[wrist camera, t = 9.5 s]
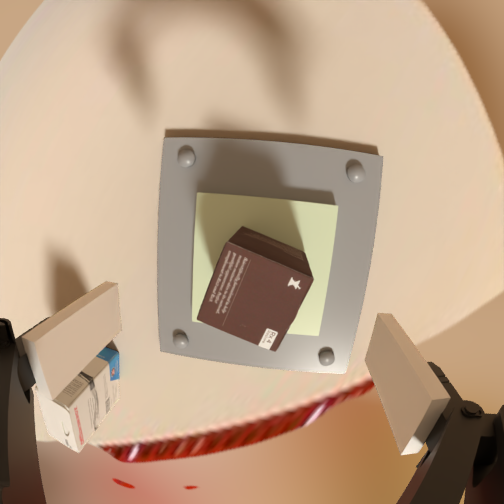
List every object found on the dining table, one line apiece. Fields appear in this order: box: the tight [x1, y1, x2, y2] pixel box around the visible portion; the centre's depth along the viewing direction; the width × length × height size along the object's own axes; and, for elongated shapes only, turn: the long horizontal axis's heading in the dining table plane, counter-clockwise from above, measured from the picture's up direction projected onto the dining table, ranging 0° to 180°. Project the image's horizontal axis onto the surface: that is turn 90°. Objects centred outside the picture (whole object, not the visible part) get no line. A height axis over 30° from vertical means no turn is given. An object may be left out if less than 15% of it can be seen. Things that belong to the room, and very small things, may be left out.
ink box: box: [35, 347, 120, 453], centre depth 27 cm, size 8×5×12 cm, turn 166°
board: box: [158, 137, 383, 374], centre depth 27 cm, size 22×20×2 cm
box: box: [197, 226, 314, 352], centre depth 22 cm, size 6×6×7 cm
